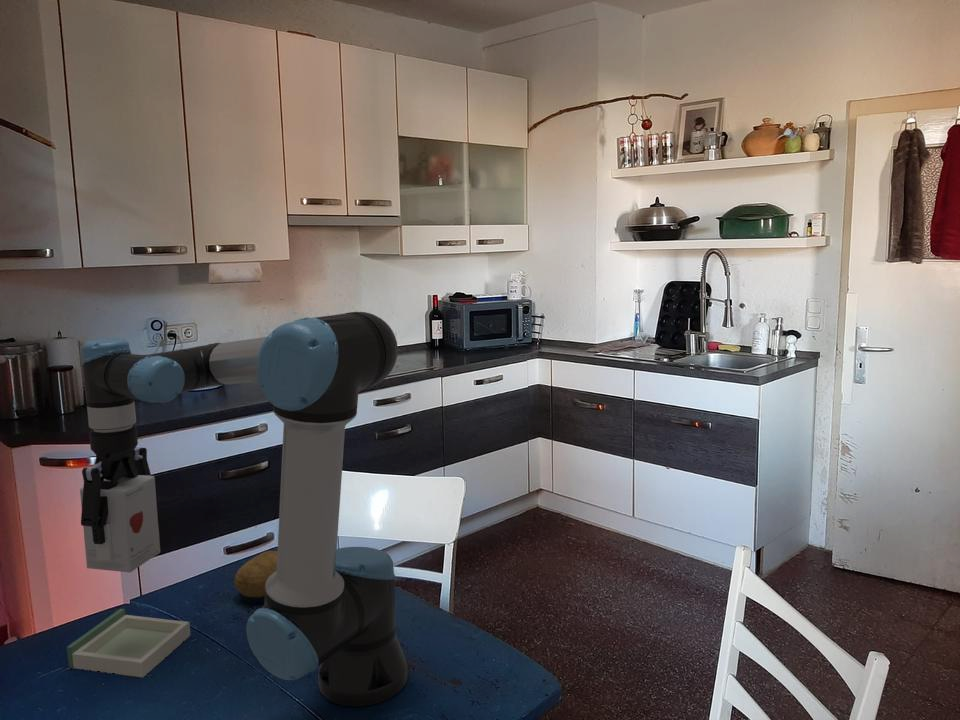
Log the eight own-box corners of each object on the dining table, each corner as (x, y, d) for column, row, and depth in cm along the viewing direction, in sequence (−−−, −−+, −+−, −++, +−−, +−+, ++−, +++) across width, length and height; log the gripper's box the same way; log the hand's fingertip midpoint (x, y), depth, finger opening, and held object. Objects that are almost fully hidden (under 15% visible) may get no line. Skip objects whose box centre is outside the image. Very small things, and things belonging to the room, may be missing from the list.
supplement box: (130, 573, 129) (123, 491, 127) (85, 569, 131) (77, 488, 129) (162, 552, 138) (156, 474, 136) (119, 548, 140) (112, 472, 137)
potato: (298, 579, 166) (296, 545, 164) (268, 610, 152) (266, 573, 151) (258, 575, 168) (256, 542, 166) (225, 605, 154) (222, 569, 153)
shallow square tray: (190, 635, 143) (188, 616, 142) (142, 677, 129) (140, 656, 129) (122, 627, 146) (120, 608, 145) (68, 667, 132) (66, 647, 132)
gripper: (135, 411, 142) (144, 523, 145) (46, 442, 121) (60, 572, 124) (170, 413, 140) (179, 526, 144) (86, 445, 119) (99, 576, 123)
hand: (124, 547), depth 134 cm, fingers closed on supplement box, 9 cm apart
